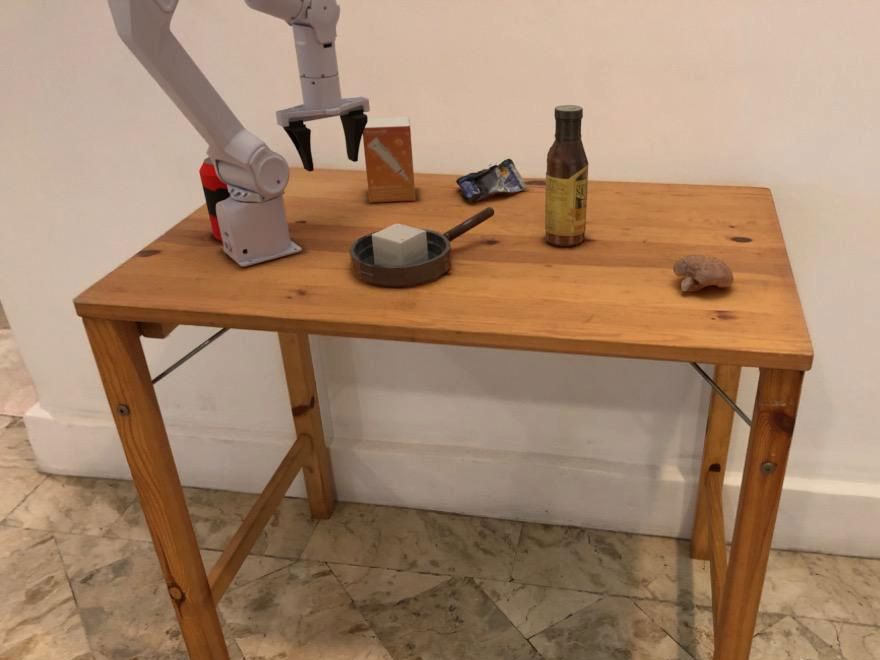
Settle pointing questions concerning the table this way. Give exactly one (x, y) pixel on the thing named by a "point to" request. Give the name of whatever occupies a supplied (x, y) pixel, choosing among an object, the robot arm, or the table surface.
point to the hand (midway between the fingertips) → (331, 164)
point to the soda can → (213, 193)
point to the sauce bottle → (566, 180)
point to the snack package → (491, 181)
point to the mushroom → (702, 272)
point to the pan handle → (469, 224)
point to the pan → (401, 274)
